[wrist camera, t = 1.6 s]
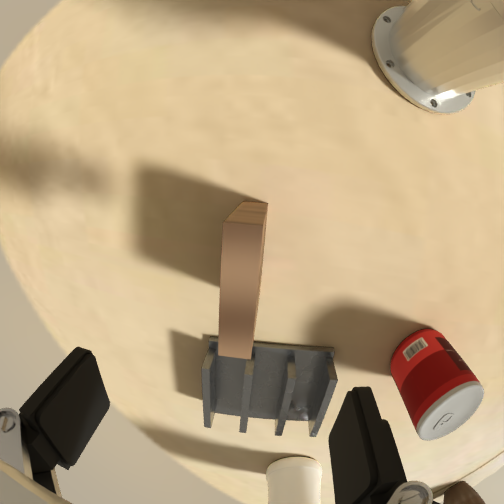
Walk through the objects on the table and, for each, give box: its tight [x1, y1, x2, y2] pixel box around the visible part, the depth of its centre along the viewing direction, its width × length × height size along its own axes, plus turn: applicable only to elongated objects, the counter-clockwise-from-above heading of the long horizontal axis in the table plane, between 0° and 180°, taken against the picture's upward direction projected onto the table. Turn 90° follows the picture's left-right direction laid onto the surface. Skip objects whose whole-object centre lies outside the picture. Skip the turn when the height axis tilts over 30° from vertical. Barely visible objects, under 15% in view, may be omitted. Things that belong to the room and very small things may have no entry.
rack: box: [201, 336, 338, 437], centre depth 29 cm, size 12×13×4 cm
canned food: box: [391, 329, 484, 440], centre depth 23 cm, size 8×8×11 cm
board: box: [218, 201, 268, 359], centre depth 21 cm, size 9×2×10 cm, turn 176°
